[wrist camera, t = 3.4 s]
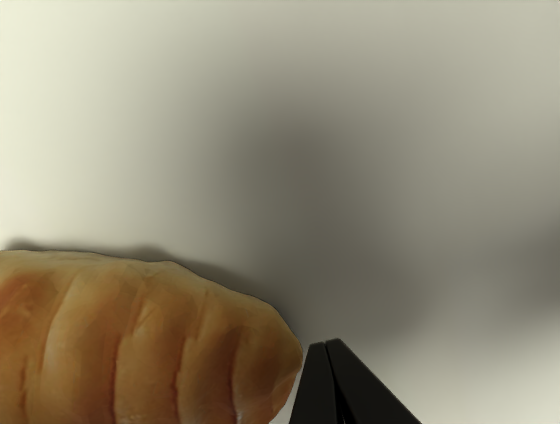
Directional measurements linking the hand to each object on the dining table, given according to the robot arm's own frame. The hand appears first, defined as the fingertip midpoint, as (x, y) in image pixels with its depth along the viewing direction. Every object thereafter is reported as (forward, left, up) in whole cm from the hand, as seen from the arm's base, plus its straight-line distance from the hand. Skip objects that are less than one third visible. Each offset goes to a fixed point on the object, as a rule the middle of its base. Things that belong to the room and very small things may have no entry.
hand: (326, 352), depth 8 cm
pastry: (+6, -1, -2) cm, 6 cm away
